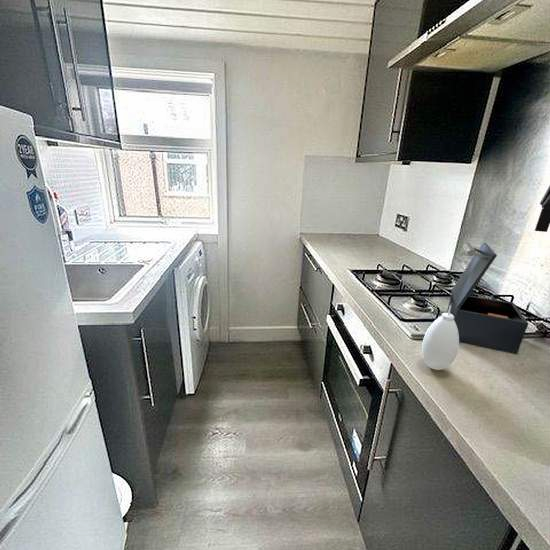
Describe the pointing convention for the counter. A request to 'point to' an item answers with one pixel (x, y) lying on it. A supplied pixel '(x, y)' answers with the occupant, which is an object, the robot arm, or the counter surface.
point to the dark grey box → (489, 323)
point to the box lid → (472, 272)
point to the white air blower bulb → (441, 342)
